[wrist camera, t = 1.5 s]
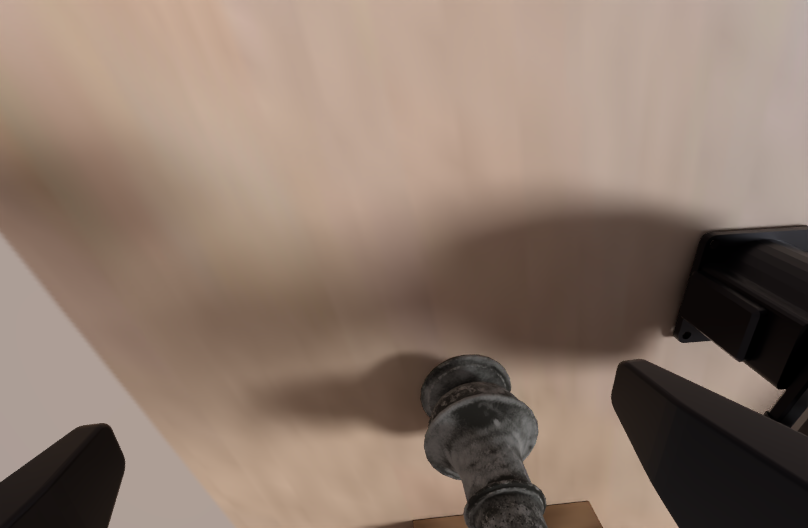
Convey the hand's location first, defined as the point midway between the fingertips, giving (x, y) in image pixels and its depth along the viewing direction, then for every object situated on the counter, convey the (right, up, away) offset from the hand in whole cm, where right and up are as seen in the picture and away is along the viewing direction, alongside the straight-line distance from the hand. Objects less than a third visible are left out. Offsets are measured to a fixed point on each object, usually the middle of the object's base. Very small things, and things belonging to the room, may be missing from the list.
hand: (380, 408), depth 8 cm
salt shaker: (+4, -5, +18) cm, 19 cm away
